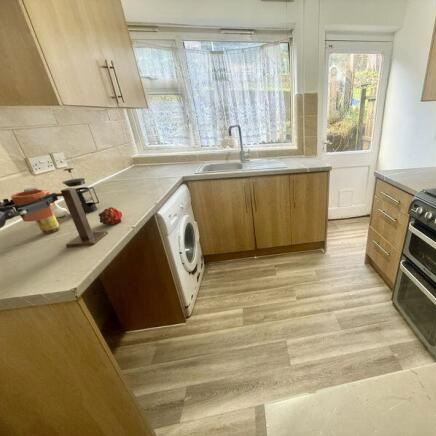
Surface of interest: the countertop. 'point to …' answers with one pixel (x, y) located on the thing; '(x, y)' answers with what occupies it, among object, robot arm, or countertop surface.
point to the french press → (80, 181)
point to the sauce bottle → (47, 221)
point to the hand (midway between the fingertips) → (42, 197)
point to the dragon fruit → (110, 216)
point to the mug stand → (79, 220)
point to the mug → (29, 197)
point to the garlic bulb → (59, 211)
